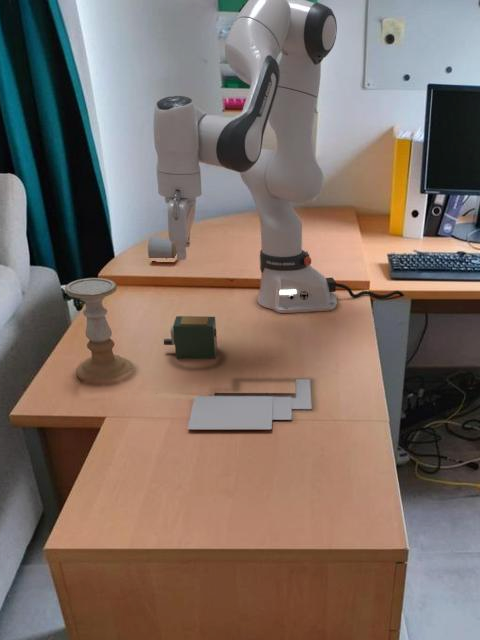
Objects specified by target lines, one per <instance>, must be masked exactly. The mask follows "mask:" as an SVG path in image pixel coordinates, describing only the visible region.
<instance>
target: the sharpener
mask: <svg viewBox="0 0 480 640" xmlns="http://www.w3.org/2000/svg"><path fill="white" fill-rule="evenodd" d="M217 337H218V336H217V324H216V316H200V315H199V316H192V315H190V316H189V315H176V316H175V320H174V321H173V325H172V326H170V338H164V339H163V345H164V346H175V347H174V348H175V356H176V357H175V358H176V359H198V360H199V359H202V360H203V359H206V360H207V359H213V360H215V359H216V356H217V352H218V339H217Z"/></svg>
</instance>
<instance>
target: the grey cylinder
mask: <svg viewBox="0 0 480 640" xmlns="http://www.w3.org/2000/svg"><path fill="white" fill-rule="evenodd" d="M176 254H177V251H176V247H175V243H174V242H170V240H169V237H168V238H167V237H158V236H150V237H149V239H148V242H147V255H148V259H149V258H166V259H167V258H175V256H176Z"/></svg>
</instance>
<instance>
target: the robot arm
mask: <svg viewBox="0 0 480 640" xmlns="http://www.w3.org/2000/svg"><path fill="white" fill-rule="evenodd" d="M337 30H338V23H337V18H336V15H335V13H334V11H333V9H332V8H331V7H328V6H327V5H325V4H322V3H320V2H312V1H309V0H247V2H246V3H245V4H244V6H243V7H242V8H241V10H240V11H239V13H238V15H237V16H236V18H235V20H234V22H233V24H232V26H231V27H230V29H229V31H228V33H227V35H226V38H225V43H224V54H225V57H226V62H227V64H228V65H229V68H230V69H231V70H232V72H233V73H234V74H235V75H236V77H238V78H239V80H241V81H242V82H243V83H245V84H247V85H249V89H248V93H247V95H246V99H245V102H244V105H243V108H242V110H241V112H240V113H239V114H236V115H234V116H225V115H218V114H213V113H208V112H207V111H204V110H202V109H201V108H199V107H198V106H196V104H195V103H194V100H193V99H192V98H190V97H188V96H184V95H174V96H166V97H163V98H160V99H159V100H158V101H157V102H156V103H155V106H154V111H153V141H154V150H155V152H156V155H157V163H156V179H157V191H158V195H159V196H161V197H164V201H165V202H164V203H166V204H167V230H168V239H169V240H170V242H174V243H175V247H176V251H177V260H178V261H185V260H186V259H187V249H186V248H189V247H190V245H191V230H192V226H193V223H194V220H195V215H196V203H197V198H198V197H201V196H202V174H201V173H202V171H201V166H200V164H201V163H202V164H206V165H209V166H210V165H211V166H216V167H220V168H225V169H227V170H231V171H234V172H237V173H239V175H240V178H241V181H242V182H243V184H244V185H245V186H246V187H247V189H248V190H249V192H250V195H251V197H252V199H253V202H254V204H255V208H256V211H257V215H258V219H259V225H260V226H259V227H260V228H259V229H260V242H261V243H260V244H261V246H260V247H261V249H260V250H259V269H260V273H261V274H260V283H259V284H260V285H259V291H258V296H257V298H256V301H257V303H258V305H260V306H261V307H264V308H266V309H270V310H273V311H275V312H276V313H279V314H291V313H293V314H295V313H311V312H326V311H332V310H334V309H335V308H336V307H337V304H338V302H337V301H338V300H337V296H336V294H335V293H336V292H337V288H341V289H344V290H346V291H347V293H348V294H349V296H350V297H352V298H353V299H356V298H359V297H361V296H363V295H369V296H371V297H372V296H373V297H374V298H378V299H388V298H390V297H393V296H395V295H399V296H400V297H405V294H404V293H403V292H402V291H400V290H393V291H391V292H389V293H387V294H379V293H375V292H373V291H369V290H363V291H362V290H361V291H360V292H358V293H356V294H355V293H354V292H353V291H352V289H351V287H349V286H348V285H345V284H343V283H338V282H336V280H335V279H334V277H325V275H323V274H322V273H321V272H320V271H318V270H317V269H316V268H314V267H313V266H312V265H311V264H312V258H311V257H310V254H309V252H308V250H306V251H305V250H303V223H302V220H301V218H300V217H299V215H298V214H297V212H296V211H295V209H294V207H293V204H292V203H294V204H309V203H310V204H311V203H313V202H315V201H316V200H317V199H318V198H319V196H320V195H321V193H322V190H323V189H324V188H323V187H324V173H323V170H322V169H321V167H320V165H319V164H318V161H317V159H316V155H315V151H314V144H313V128H314V121H315V116H316V110H317V109H316V108H317V103H318V98H319V93H320V92H319V91H320V85H321V75H322V61H323V60H324V58H326V57H327V56H328V54H330V53H331V51H332V49H333V48H334V46H335V43H336V39H337V35H338V33H337V32H338V31H337ZM280 53H281V56H280ZM279 56H280V59H279V63H278V62H277V59H278V57H279ZM268 123H269V125H270V128H271V129H272V130H273V131H274V134H275V139H276V145H277V147H276V148H277V150H276V149H270V148H266V147H265V148H263V141H264V135H265V130H266V127H267V124H268Z"/></svg>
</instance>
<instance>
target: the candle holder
mask: <svg viewBox="0 0 480 640" xmlns="http://www.w3.org/2000/svg"><path fill="white" fill-rule="evenodd" d="M117 289H118V285H117V284H116V282H115V281H113V280H111V279H109V278H104V277H103V278H101V277H88V278H80V279H76V280H74V281H71V282H69V283H68V284H66V285H65V287H64V291H65V293H66V295H67V296H69V297H71V298H75V299H78V300H79V299H80V300H81V301H82V302H83V303H84V305H85V309H83V311H82V314H83V316H84V317H86V328H85V337H86V338H87V339H88V342H87V343H86V348H87V349H88V350H89V351H90V352H91V356H90V357H88V358H86V359H85V360H84V361H82V362H81V363H79V364H78V365H77V367H76V370H75V371H76V373H75V374H76V376H77V378H78V379H79V380H81V381H82V382H84V380H85V379H88V380H100V381H101V380H110V379H116V378H119V377H122V376H124V375H126V374H128V373H129V372H130V371H131V370H132V368H133V362H132V361H131V360H129V359H127V358H125V357H123V356H120V355H118V354H114V351H113V349H114V347H115V341H114V340H113V339H111V337H112V335H113V332H112V329H111V326H110V325H109V323H108V320H107V318H106V317H107V314H108V309H107V308H105V307H104V305H103V301H104V299H105V298H106V297H110V296H111V295H113V294H114V293H116V291H117Z"/></svg>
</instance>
